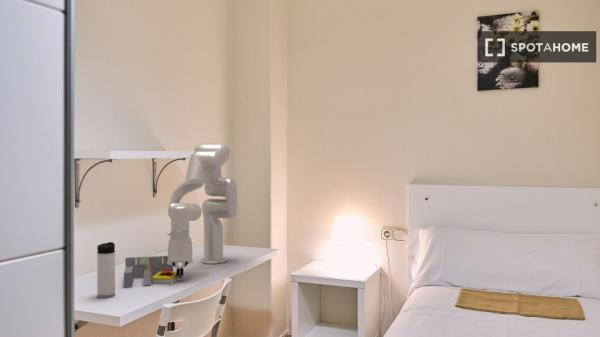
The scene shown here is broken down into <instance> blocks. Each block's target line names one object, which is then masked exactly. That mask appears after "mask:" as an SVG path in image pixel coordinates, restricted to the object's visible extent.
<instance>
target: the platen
mask: <svg viewBox="0 0 600 337" xmlns="http://www.w3.org/2000/svg"><path fill="white" fill-rule="evenodd" d="M151 284H152V268H149V261H147V268H145V269H144V278H143V286H151Z"/></svg>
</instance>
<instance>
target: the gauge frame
mask: <svg viewBox="0 0 600 337" xmlns="http://www.w3.org/2000/svg"><path fill="white" fill-rule="evenodd" d="M124 260H125V268H124V272H123V288H124V289H125V288H132V287H133V284H134V280H135V279H144V269H145V268H147V261H149V268H152V277H153V276H154V275H156V274H157V273H158V272H160V271H171V272H174V266H173V265H169V264H167V261H168V255H157V256H156V255H155V256H154V255H152V256H134V257H133V256H132V257H125V259H124Z"/></svg>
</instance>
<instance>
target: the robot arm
mask: <svg viewBox="0 0 600 337" xmlns="http://www.w3.org/2000/svg"><path fill="white" fill-rule="evenodd" d="M230 156H231V149H230V146H228V145H227V144H226V143H200V144H197V145H195V146H194V151H193V152H192V153H191V155H190V157H189V162H188V165H187V166H188V167H187V170H186V174H185V179H184V181H183V182H182V183H180V184H179V185H178V186H177V187H176V188H175V189H174V191H173V192H172V194H171V196H170V200H169V203H168V208H167V210H168V211H167V213H168V217H169V218H170V231H168V232H167V236H169V238H168V244H167V256H168V261H167V264H169V265H173V268H175V270H176V271H175V272H176V276H178V278H179V279H182V278H183V276H185V274H184V273H185V270H184V269H185V267H187V266H188V265H189V264H193V263H194V260H193V242H192V237H191V236H190V222H194V221H197V220H199V219H200V218H201V217H203V257H202V258H201V259H200V262H201V263H202V264H210V265H211V264H212V265H213V264H214V265H217V264H223V263H225V262H226V261H227V258H226V257H224V225H223V222H222V221H221V220H220V219H234V218H236V217H237V214H238V187H237V183H236V180H235V179H234V178H232V177H225V176H224V177H222V167H223V165H225V164H226V162H228V160H229V159H230ZM203 186H204V193H205V195H206V196H208V197H209V196H210V197H225V198H207V199H206V200H204V201H203V203H202V205H201V206H200V205H199V204H197V203H185V202H181V200H182V198H183V197H184V196H186V195H187V194H189V193H191V192H194V191H195V190H199V189H200V188H202V187H203ZM179 263H181V265H179Z"/></svg>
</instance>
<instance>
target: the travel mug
mask: <svg viewBox="0 0 600 337" xmlns="http://www.w3.org/2000/svg"><path fill="white" fill-rule="evenodd" d="M96 247H97V251H96V253H97V254H96V255H97V256H96V257H97V259H96V261H97V263H96V264H97V271H96V274H97V276H96V277H97V279H96V280H97V282H96V283H97V287H96V288H97V289H96V290H97V293H96V294H97V298H101V299H106V298H108V299H109V298H112V297H114V296H115V295H116V251H115V250H116V244H115V243H114V242H112V241H109V242H106V243H101V244H98V245H97V246H96Z"/></svg>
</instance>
